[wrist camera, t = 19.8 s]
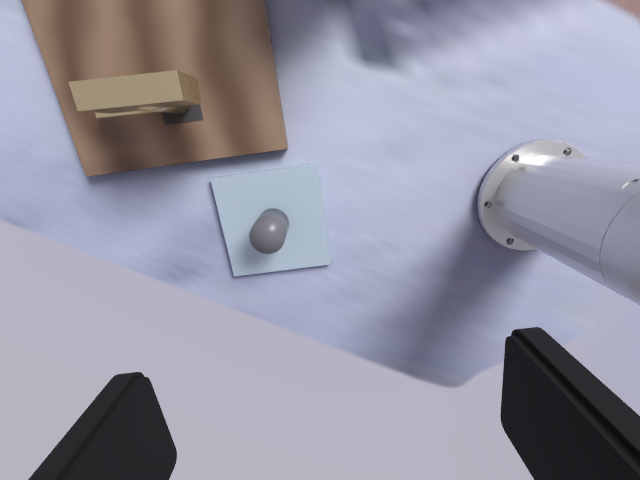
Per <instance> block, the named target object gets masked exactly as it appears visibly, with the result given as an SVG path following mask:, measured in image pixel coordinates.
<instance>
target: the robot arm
mask: <svg viewBox="0 0 640 480" xmlns="http://www.w3.org/2000/svg"><path fill="white" fill-rule="evenodd" d="M512 157H513V158H512ZM511 158H512V160H511ZM485 202H486V204H485ZM484 204H485V205H484ZM477 210H478V217H479V220H480V222H481V225H482V227H483V228H484V230H485V231H486V233H487V234H488V235H489V236H490V237H491V238H492V239H493V240H495V241H496V242H498V243H499V244H501V245H503V246H505V247H507V248H511V249H515V250H525V251H528V250H537V249H538V250H540V251H542V252H544V253H546V254H547V255H549V256H551V257H553V258H555V259H557V260H558V261H560V262H562V263H564V264H566V265H567V266H569V267H571V268H573V269H575V270H576V271H578V272H580V273H582V274H584V275H585V276H587V277H589V278H591V279H593V280H595V281H596V282H598V283H600V284H602V285H604V286H605V287H607V288H609V289H611V290H613V291H615V292H616V293H618V294H620V295H622V296H624V297H626V298H628V299H630V300H631V301H633V302H635V303H637V304H639V305H640V166H639V165H631V164H622V163H613V162H605V161H596V160H588V159H587V158H586V156H585V155H584V154H583V153H582V152H581V151H580V150H579V149H577V148H576V147H575V146H573V145H570V144H568V143H566V142H562V141H556V140H537V141H531V142H528V143H525V144H522V145H519V146H517V147H515V148H514V149H512V150H510V151H508V152H507V153H506V154H505V155H503V156H502V157H501V158H500V159H499V160H498V161H497V162H496V163H495V164H494V165H493V166H492V167H491V169H490V170H489V171H488V173H487V174H486V176H485V178H484V180H483V182H482V184H481V187H480V190H479V194H478V202H477ZM501 422H502V425H503V428H504V431H505V432H506V434H507V436H508V437H509V439H510V441H511V442H512V444H513V445H514V447H515V449H516V450H517V452H518V454H519V455H520V457H521V459H522V460H523V462H524V463H525V465H526V467H527V468H528V470H529V472H530V473H531V475H532V476H533V478H534V480H640V416H639V415H638V414H637V413H635V412H634V411H633V410H632V409H631V408H630V407H629V406H627V404H625V403H624V402H623V401H622V400H621V399H620V398H619V397H618V396H617V395H615V394H614V393H613V392H612V391H611V390H610V389H609V388H608V387H606V386H605V385H604V384H603V383H602V382H601V381H600V380H599V379H597V378H596V377H595V376H594V375H593V374H592V373H591V372H590V371H589V370H587V369H586V368H585V367H584V366H583V365H582V364H581V363H580V362H579V361H577V360H576V359H575V358H574V357H573V356H572V355H571V354H570V353H568V352H567V351H566V350H565V349H564V348H563V347H562V346H561V345H560V344H559V343H557V342H556V341H555V340H554V339H553V338H552V337H551V336H550V335H549V334H547V333H546V332H545V331H544V330H543V329H541V328H539V327H534V328H525V329H516V330H513V332H512V334H511V336H509V337H507V338H506V342H505V357H504V372H503V388H502V402H501ZM176 458H177V451H176V448H175V445H174V442H173V440H172V437H171V434H170V432H169V429H168V426H167V424H166V421H165V419H164V416H163V413H162V410H161V408H160V405H159V403H158V400H157V397H156V395H155V392H154V389H153V387H152V384H151V381H150V379H149V378H147V377H144V375H143V374H142V373H141V372H135V373H126V374H118V375H115V376H114V377H113V378H112V379H111V380H110V382H109V383H108V384H107V385H106V386H105V388H104V389H103V390H102V391H101V392H100V394H99V395H98V396H97V397H96V398H95V400H94V401H93V402H92V403H91V404H90V406H89V407H88V408H87V409H86V410H85V412H84V413H83V414H82V415H81V416H80V418H79V419H78V420H77V421H76V423H75V424H74V425H73V426H72V427H71V429H70V430H69V431H68V432H67V434H66V435H65V436H64V437H63V438H62V440H61V441H60V442H59V443H58V444H57V446H56V447H55V448H54V449H53V450H52V452H51V453H50V454H49V455H48V457H47V458H46V459H45V460H44V461H43V463H42V464H41V465H40V466H39V467H38V469H37V470H36V471H35V472H34V473H33V475H32V476H31V477H30V478H29V480H169V478H170V476H171V473H172V471H173V469H174V467H175V464H176Z"/></svg>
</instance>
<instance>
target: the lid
mask: <svg viewBox="0 0 640 480" xmlns="http://www.w3.org/2000/svg"><path fill="white" fill-rule="evenodd" d="M210 180H211V184H212V188H213V193H214V197H215V201H216V205H217V209H218V213H219V217H220V221H221V225H222V229H223V233H224V238H225V242H226V246H227V250H228V254H229V258H230V262H231V266H232V270H233V274H234V277H235V276H243V275H250V274H258V273H266V272H274V271H282V270H290V269H298V268H306V267H314V266H322V265H330V264H331V257H330V250H329V242H328V235H327V227H326V220H325V212H324V205H323V197H322V190H321V182H320V175H319V167H318V163H314V164H307V165H299V166H292V167H285V168H278V169H271V170H263V171H256V172H249V173H242V174H234V175H227V176H220V177H213V178H211V179H210Z"/></svg>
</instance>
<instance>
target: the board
mask: <svg viewBox="0 0 640 480" xmlns="http://www.w3.org/2000/svg"><path fill="white" fill-rule="evenodd" d="M22 2H23V4H24V7H25V10H26V13H27V15H28V18H29V21H30V24H31V26H32V29H33V32H34V35H35V37H36V40H37V43H38V46H39V48H40V51H41V54H42V57H43V59H44V62H45V65H46V68H47V70H48V73H49V76H50V79H51V81H52V84H53V87H54V90H55V92H56V95H57V98H58V101H59V103H60V106H61V109H62V112H63V114H64V117H65V120H66V123H67V125H68V128H69V131H70V134H71V136H72V139H73V142H74V145H75V147H76V150H77V153H78V156H79V158H80V161H81V164H82V167H83V169H84V172H85V175H86V176H93V175H101V174H108V173H115V172H123V171H130V170H137V169H145V168H152V167H159V166H166V165H174V164H181V163H188V162H196V161H203V160H210V159H217V158H225V157H232V156H239V155H247V154H254V153H261V152H268V151H276V150H283V149H288V144H287V138H286V132H285V125H284V119H283V113H282V106H281V100H280V94H279V87H278V81H277V75H276V68H275V62H274V56H273V49H272V43H271V37H270V30H269V24H268V18H267V11H266V5H265V0H22ZM174 70H178V71H180V72H183V73H185V74H188V75H190V76H193V77H195V78H197V82H198V87H199V92H200V97H201V102H202V104H198V105H190V107H189V109H188V110H187V111H186V112H185V113H182V114H176V113H166V112H159V113H150V114H140V115H130V116H121V117H111V118H96V115H95V112H81V111H77V107H76V104H75V101H74V98H73V95H72V92H71V88H70V85H69V82H71V81H80V80H90V79H99V78H108V77H118V76H127V75H136V74H146V73H155V72H164V71H174Z"/></svg>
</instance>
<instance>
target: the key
mask: <svg viewBox="0 0 640 480" xmlns="http://www.w3.org/2000/svg"><path fill="white" fill-rule="evenodd" d="M69 85H70V88H71V92H72V95H73V98H74V101H75V104H76V107H77V111H81V112H95V115H96V118H111V117H121V116H130V115H140V114H150V113H159V112H166V113H176V114H182V113H185V112H186V111H187V110H188V109H189V107H190V105H198V104H202V102H201V97H200V92H199V87H198V82H197V78H195V77H193V76H190V75H188V74H185V73H183V72H180V71H178V70H174V71H164V72H155V73H146V74H136V75H127V76H118V77H108V78H99V79H90V80H80V81H71V82H69Z"/></svg>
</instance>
